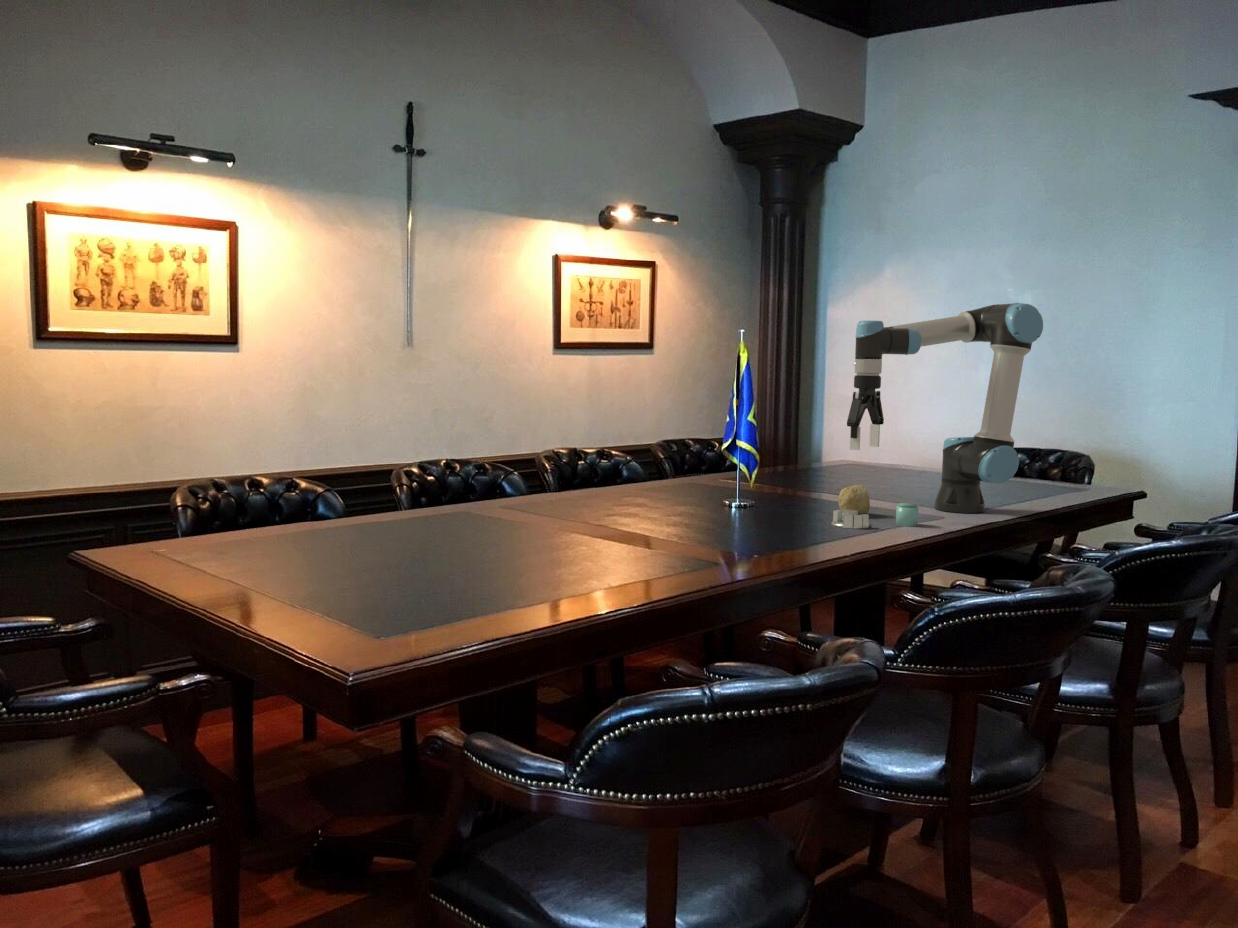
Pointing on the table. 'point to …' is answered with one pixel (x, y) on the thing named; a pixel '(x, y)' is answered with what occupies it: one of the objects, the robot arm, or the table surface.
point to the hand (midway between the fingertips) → (864, 448)
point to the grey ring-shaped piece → (850, 519)
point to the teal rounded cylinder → (907, 514)
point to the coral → (854, 499)
